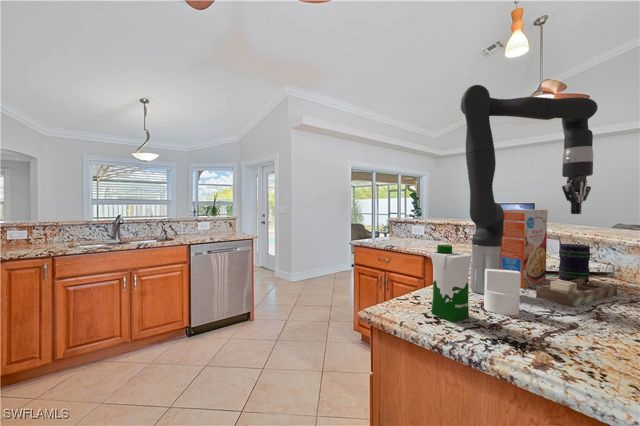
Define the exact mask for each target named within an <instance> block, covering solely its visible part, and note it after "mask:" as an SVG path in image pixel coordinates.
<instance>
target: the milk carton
mask: <svg viewBox="0 0 640 426" xmlns="http://www.w3.org/2000/svg"><path fill="white" fill-rule="evenodd" d="M436 247H437V249H436V252H435V251H434V252H431V253H430V255H431V262H432V267H433V268H432V272H433V277H432V278H433V280H432V301H431V302H432V304H431V314H432V315H433V316H436V317H439V318H441V319H444V320H446V321H447V322H451V323H455V322H459V321H462V320H466V319H470V313H469V312H470V311H469V309H470V308H469V307H470V306H469V286H470V285H469V284H470V283H469V282H470V281H469V280H470V279H469V277H470V268H471V263H472V254H465V253H463V252H454V251H453V245H448V244H438V245H436Z"/></svg>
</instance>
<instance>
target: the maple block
mask: <svg viewBox="0 0 640 426" xmlns="http://www.w3.org/2000/svg"><path fill="white" fill-rule="evenodd" d="M549 285H550V290H553V291H557V292H561V293H566V294H574V293H576V286H577V283H572V282H568V281H563V280H560V279H556V280H552V281H551V280H550V284H549Z"/></svg>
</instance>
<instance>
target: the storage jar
mask: <svg viewBox="0 0 640 426" xmlns="http://www.w3.org/2000/svg"><path fill="white" fill-rule="evenodd" d="M558 254H559V255H558V257H559V265H558V280H563V281H571V280H576V279H581V278H583V279H585V283H587V282H589V283H590V275H591V274H590V273H591V272H590V271H591V270H590V260H591V246H590V245H585V244H577V243H559V251H558Z"/></svg>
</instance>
